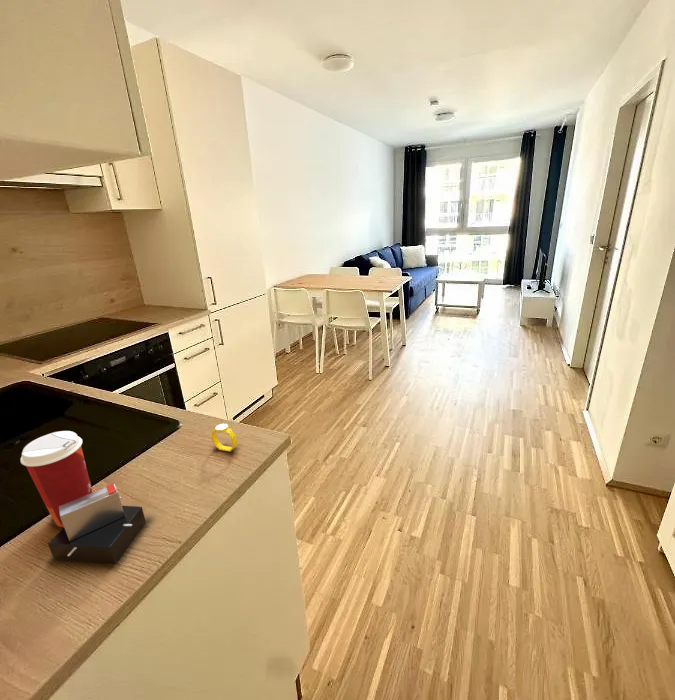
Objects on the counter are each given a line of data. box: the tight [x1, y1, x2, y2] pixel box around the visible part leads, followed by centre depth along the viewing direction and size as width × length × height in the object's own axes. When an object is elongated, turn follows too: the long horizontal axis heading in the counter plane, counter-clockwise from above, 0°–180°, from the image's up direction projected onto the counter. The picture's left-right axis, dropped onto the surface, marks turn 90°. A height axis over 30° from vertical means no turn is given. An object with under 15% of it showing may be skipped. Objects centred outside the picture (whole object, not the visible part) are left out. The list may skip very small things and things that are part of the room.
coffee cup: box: [19, 430, 93, 528], centre depth 61 cm, size 8×8×15 cm
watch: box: [210, 423, 238, 452], centre depth 80 cm, size 6×3×6 cm, turn 69°
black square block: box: [47, 495, 147, 565], centre depth 58 cm, size 12×12×4 cm
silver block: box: [59, 483, 125, 541], centre depth 56 cm, size 8×3×5 cm, turn 130°
